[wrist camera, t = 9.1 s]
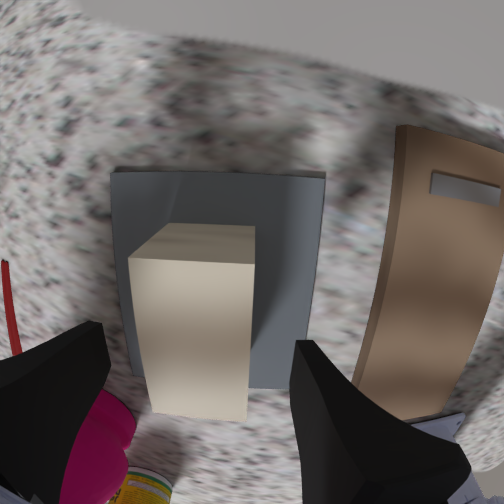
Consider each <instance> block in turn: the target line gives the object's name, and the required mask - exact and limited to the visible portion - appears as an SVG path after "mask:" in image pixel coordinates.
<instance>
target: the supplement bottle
mask: <svg viewBox="0 0 504 504" xmlns="http://www.w3.org/2000/svg"><path fill="white" fill-rule="evenodd" d="M171 494H172V485H171V484H170V482H168V481H167V480H166V479H165V478H164V477H163V476H161V475H159V474H157V473H155V472H153V471H150V470H147V469H143V468H138V467H128V473H127V475H126V477H125V480H124V482H123V484H122V485H121V487H120V488H119V489H118V491H117V492H116V493H115V495H114V496H113V497H112V498H110V500H109V503H108V504H170V499H171Z"/></svg>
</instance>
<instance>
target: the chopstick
mask: <svg viewBox="0 0 504 504" xmlns="http://www.w3.org/2000/svg"><path fill="white" fill-rule="evenodd" d="M1 271H2V285H3V296H4V305H5V313H6V321H7V327H8V333H9V339H10V344H11V350H12V355H13V356H15V355H18V354H20V353H22V348H21V344H20V339H19V335H18V330H17V324H16V319H15V313H14V306H13V300H12V292H11V284H10V274H9V264H8V262H7V261H6V262H5V261H4V260H2V261H1Z"/></svg>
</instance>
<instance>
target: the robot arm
mask: <svg viewBox="0 0 504 504" xmlns="http://www.w3.org/2000/svg"><path fill="white" fill-rule="evenodd" d="M110 367H111V362H110V358H109V354H108V349H107V345H106V340H105V336H104V331H103V326H102V323H99V322H92V321H87V322H85V323H82V324H80V325H78V326H76V327H74V328H72V329H70V330H68V331H66V332H64V333H62V334H60V335H58V336H56V337H54V338H52V339H50V340H49V341H47V342H44V343H42V344H40V345H38V346H36V347H34V348H32V349H30V350H27V351H25V352H23V353H20V354H18V355H15V356H12V357H9V358H7V359H4V360H0V504H59V500H60V493H61V488H62V483H63V479H64V474H65V470H66V467H67V463H68V460H69V457H70V453H71V450H72V448H73V445H74V442H75V439H76V437H77V434H78V432H79V430H80V428H81V426H82V424H83V422H84V420H85V418H86V416H87V415H88V413H89V411H90V409H91V407H92V406H93V404H94V402H95V400H96V398H97V397H98V395H99V393H100V391H101V389H102V387H103V386H104V383H105V381H106V378H107V376H108V373H109V370H110ZM289 390H290V406H291V412H292V418H293V423H294V428H295V434H296V439H297V444H298V450H299V455H300V463H301V477H302V500H303V504H504V497H502V496H498V497H497V496H495V495H494V496H492V497H491V498H490V499H487V498H485V497H484V495H483V493H482V491H481V489H480V487H479V485H478V483H477V481H476V479H475V477H474V475H473V473H472V471H471V470H472V469H471V465H470V463H469V461H468V459H467V458H466V456H465V454H464V452H463V450H462V448H461V447H460V445H459V444H457V443H456V441H455V439H454V437H453V435H454V434H455V433H456V431H457V430H458V428H459V427H460V425H461V423H462V422H463V420H464V419H465V417H466V415H465V414H464V413H459V414H456V415H452V416H448V417H444V418H440V419H435V420H431V421H427V422H422V423H417V424H412V425H409V424H407V423H405V422H404V421H402V420H400V419H398V418H397V417H395V416H394V415H392V414H390V413H389V412H387V411H386V410H384V409H383V408H381V407H380V406H378V405H377V404H376V403H374V402H373V401H372V400H370V399H369V398H368V397H367V396H365V395H364V394H363V393H362V392H361V391H359V390H358V389H357V388H356V387H355V386H354V385H353V384H352V383H351V382H350V381H349V380H348V379H347V378H346V377H345V376H344V375H343V374H342V373H341V372H340V371H339V370H338V369H337V368H336V367H335V365H334V364H333V363H332V362H331V361H330V360H329V359H328V357H327V356H326V355H325V354H324V353H323V351H322V350H321V349H320V348H319V347H318V345H317V344H316V343H315V342H314V341H313V340H296V342H295V349H294V355H293V362H292V368H291V374H290V381H289Z"/></svg>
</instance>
